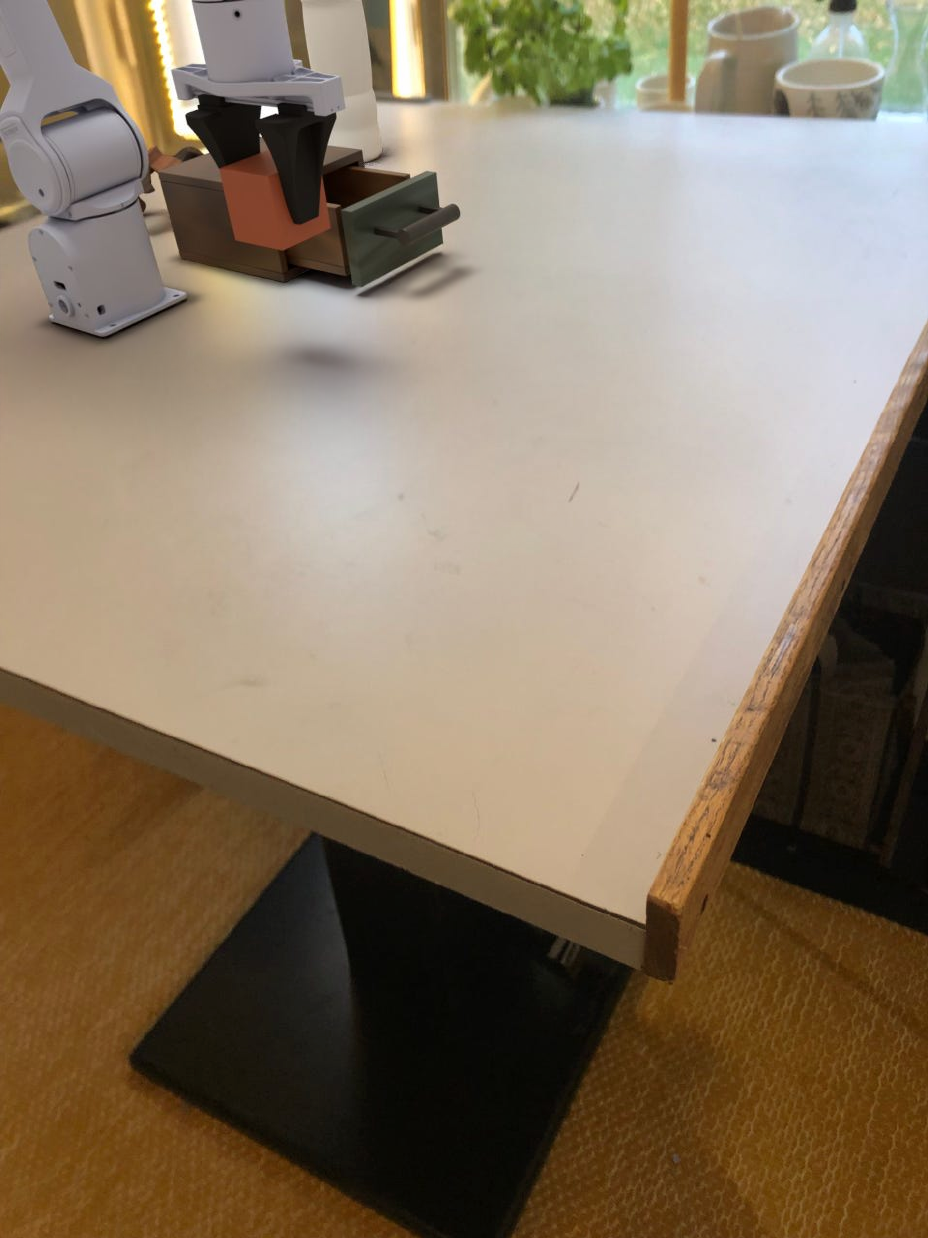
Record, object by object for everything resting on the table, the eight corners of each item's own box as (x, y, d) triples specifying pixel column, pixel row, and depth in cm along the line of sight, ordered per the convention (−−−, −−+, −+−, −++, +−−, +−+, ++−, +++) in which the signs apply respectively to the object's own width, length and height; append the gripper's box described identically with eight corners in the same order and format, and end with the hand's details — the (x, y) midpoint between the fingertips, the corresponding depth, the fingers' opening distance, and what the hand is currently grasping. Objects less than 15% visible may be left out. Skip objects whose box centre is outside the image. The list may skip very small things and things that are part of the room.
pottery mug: (182, 243, 101) (122, 173, 97) (142, 270, 108) (85, 206, 104) (247, 177, 106) (192, 109, 102) (205, 207, 113) (153, 144, 109)
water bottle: (317, 156, 121) (275, -93, 104) (371, 145, 122) (337, -102, 106) (336, 169, 115) (295, -91, 99) (391, 157, 117) (360, -100, 101)
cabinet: (374, 237, 96) (362, 149, 91) (284, 282, 89) (265, 189, 84) (271, 217, 104) (254, 135, 98) (180, 258, 96) (156, 171, 91)
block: (282, 250, 69) (267, 176, 66) (235, 240, 72) (218, 168, 68) (331, 228, 72) (319, 155, 69) (283, 219, 74) (270, 148, 71)
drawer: (479, 249, 89) (473, 176, 85) (398, 295, 82) (388, 218, 78) (337, 224, 97) (326, 156, 93) (254, 263, 91) (238, 192, 87)
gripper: (362, -15, 61) (390, 210, 69) (208, -18, 68) (251, 186, 77) (282, 6, 57) (322, 243, 65) (127, 0, 64) (182, 214, 73)
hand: (279, 214), depth 71 cm, fingers closed on block, 5 cm apart
